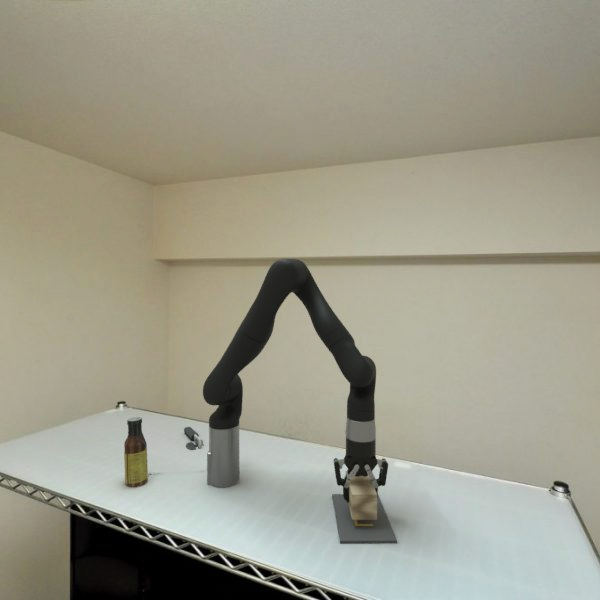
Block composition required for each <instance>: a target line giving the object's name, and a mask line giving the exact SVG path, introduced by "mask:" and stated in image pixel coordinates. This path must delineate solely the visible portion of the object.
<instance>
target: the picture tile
mask: <svg viewBox="0 0 600 600" xmlns="http://www.w3.org/2000/svg"><path fill="white" fill-rule="evenodd" d="M331 495H332V496H331V498H332V503H333V509H334V515H335V523H336V527H337V532H338V538H339V544H342V545H343V544H348V545H349V544H351V545H352V544H398V540H397V537H396V534H395V532H394V530H393V526H392V524H391V522H390V520H389V517H388V514H387V512H386V510H385V507H384V505H383V502H382V500H381V498H380V495H379V494H378V499H377V520H352V517H351V513H350V509H349V505H348V502H346V500H344V497H343V493H333V494H331Z"/></svg>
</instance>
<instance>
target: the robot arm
mask: <svg viewBox="0 0 600 600" xmlns="http://www.w3.org/2000/svg"><path fill="white" fill-rule="evenodd" d="M291 293H293V294H294V295H295V296H296V297H297V298H298V299H299V300H300V302H301V303H302V304H303V306H304V308H305V309H306V310H307V313H308V315H309V318H310V320H311V323H312V326H313V329H314V330H315V332H316V335H317V336H318V337H319V339H320V340H321V341H322V343H323V344H324V345H325V347H326V348H327V350H328V351H329V352H330V353H331V355H332V356H333V358H334V360H335V362H336V364H337V366H338V368H339V370H340V372H341V373H342V375H343V376H344V378H345V379H346V381H347V382H348V383H349V393H348V397H347V401H346V423H345V455H344V458H342V459H338V457H337V458H333V466H334V467H333V468H334V473H335V481H336V485H337V486H339V487H340V486H341V487H342V494H343V497H344V500H346V502H349V484H350V483H351V481H353V479H354V476H355V477H358V476H364V477H367V476H369V478H370V480H371V482H372V484H373V485H374V488H375V490H376V493H377V499H378V495H379V493H378V491H379V489H378V488H379V487H385V486H386V483H387V475H388V469H389V463H388V461H387V459H386V458H382V459H379V458H378V459H377V457H376V453H377V451H376V450H377V449H376V445H377V444H376V436H377V434H376V433H377V430H376V428H377V427H376V419H375V417H376V415H375V411H376V409H375V408H376V406H375V405H376V404H375V403H376V402H375V392H376V382H377V368H376V364H375V362H374V361H373V359H372V358H370V357H369V356H367V355H362V353H361V351H360V350H359V349H358V347H357V346H356V344H355V342H356V341H355V340H354V337H353V336H352V335H351V333H350V331H348V330H349V329H347V327H346V326H345V324H343V322H342V321H341V319H339V317H338V316H337V315H336V313H335V312H334V310H333V308H332V307H331V306H330V304H329V302H328V301H327V300H326V298H325V296H324V295H323V293H322V292H321V290H320V288H319V287H318V285H317V283H316V281H315V279H314V277H313V275H312V273H311V271H310V269H309V267H308V266H307V265H306V263H304V261H302V260H300V259H297V258H281V259H277V260H275V261H274V262H273V263H272V264H271V265H270V267H269V269H268V270H267V273H266V275H265V277H264V279H263V281H262V284H261V287H260V289H259V291H258V293H257V295H256V298H255V300H254V301H253V303H252V304H251V306H250V308H249V309H248V311H247V313H246V315H245V316H244V318H243V320H242V321H241V323H240V325H239V327H238V328H237V330H236V332H235V334H234V336H233V338H232V339H231V341H230V342H229V345H227V348H226V350H225V351H224V353H223V355H222V356H221V358H220V359H219V361H218V362H217V364H216V365H215V367H213V369H212V370H211V372H210V373H209V374H208V377H207V378H206V379H205V381H204V383H203V387H202V397H203V400H204V401H205V402H206V404H208V405H210V406H218V407H217V408H216V410H215V411H214V412H212V413H211V414H210V416H209V417H208V451H207V454H206V458H207V459H206V461H207V462H206V472H207V473H206V474H207V475H206V476H207V477H206V479H207V480H206V481H207V482H206V485H208V486H212V487H215V488H228V487H230V486H234V485H236V484H237V483H238V482H239V481H240V419H241V416H242V411H243V399H244V398H243V393H244V391H243V390H244V387H243V381H242V378H241V377H240V375H239V373H240V372H242V371H243V370H244V369H245V368H246V367H247V366H249V364H251V363H252V362H253V361H254V360H255V359H256V358H258V356H259V355H260V354H261V353H262V351H263V349H264V348H265V347H266V346H267V344H268V342H269V340H270V338H271V337H272V334H273V331H274V329H275V328H274V326H275V323H276V322H275V321H276V316H277V313H278V312H279V310H280V308H281V306H282V305H283V304H284V302H285V300H286V299H287V297H289V295H290V294H291ZM344 465H345V466H346V471H347V472H346V471H345V475H344V477H343V478H342V476H341V470H342V469H343V466H344ZM377 465H378V468H379V475H378V478H376V477H375V475H374V473H373V471H374V469H375V468H376V467H377Z"/></svg>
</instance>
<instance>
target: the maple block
mask: <svg viewBox="0 0 600 600" xmlns="http://www.w3.org/2000/svg"><path fill="white" fill-rule="evenodd" d="M346 472H347V470H345V473H346ZM348 505H349V509H350V513H351V517H352V520H377V493H376V490H375V488H374V485H373V484H372V482H371V480H370V478H369V476H367V477H364V476H358V477H355V476H354V479H353V481H351V483H350V484H349V502H348Z"/></svg>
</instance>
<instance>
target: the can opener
mask: <svg viewBox="0 0 600 600" xmlns="http://www.w3.org/2000/svg"><path fill="white" fill-rule="evenodd" d="M183 432H184V433H185V434H186V435H187V436H188V437H189V438H190V439H191V441H190V442H186V444H185V448H186V449H188V450H190V451H195V450H196V451H197V448H198V449H199V450H200V449H201V450H202V447H203V446H202V445H203V444H204V441H205V440H204V439H201V437H199V436H200V435H199V433H198V432H197V431H196V430H194V429H193V428H192V427H191V426H185V427H184V428H183ZM194 442H195V444H194Z"/></svg>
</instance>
